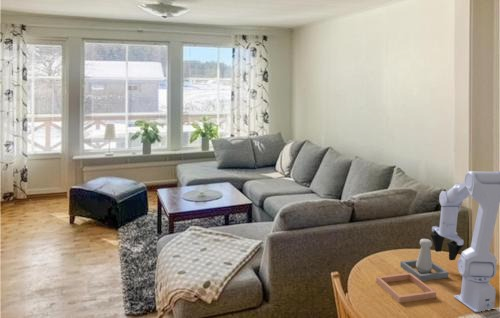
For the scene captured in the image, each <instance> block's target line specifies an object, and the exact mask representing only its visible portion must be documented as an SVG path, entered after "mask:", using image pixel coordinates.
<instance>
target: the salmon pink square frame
mask: <svg viewBox="0 0 500 318" xmlns="http://www.w3.org/2000/svg"><path fill="white" fill-rule="evenodd" d="M375 279H376V280H375V283H376V284H377V285H379V286H380V287H381V288H382V289H383V290H384V291H386V293H387V294H388V295H390V296H391V297H392V298H393V299H394V300H395V301H396V302H397V303H398V304H400V303H401V304H402V303H407V302H415V301H421V300H429V299H436V298H437V292H436V291H435V290H434V289H433V288H431V287H430V286H428V285H427V284H426V283H425V282H423V281H421V280H419V279H418V278H417V277H415V276H414V275H413V274H411V273H409V272H406V273H398V274H391V275H390V274H389V275H381V276H376V278H375ZM405 280H406V281H407V280H409V281H411V282H412V283H413V284H415V285H416V286H417V287H419V288H420V290H422V291H424V292H416V293H408V294H399V293H398V292H397V291H396V290H395V289H394V288H393V287H391V286H390V285H389V284H388V283H390V282H392V283H393V282H401V281H405Z"/></svg>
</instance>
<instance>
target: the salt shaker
mask: <svg viewBox="0 0 500 318" xmlns="http://www.w3.org/2000/svg"><path fill="white" fill-rule="evenodd" d="M419 245H420V249H419V253H418V256H417V259H416V260H417V262H416V266H415V267H416V271H417V272H418V273H420V274H428V273H431V271H432V270H433V269H432V262H433V261H432V251H431V248H432V246H433V240H430V239H429V238H421V239H420V240H419Z"/></svg>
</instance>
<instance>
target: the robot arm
mask: <svg viewBox="0 0 500 318" xmlns="http://www.w3.org/2000/svg"><path fill="white" fill-rule="evenodd" d="M438 197H439V200H438V201H439V204H440V206H441V207H440V216H439V217H440V218H439V226H437V225H434V226H431V232H430V237H431V239H432V243H433V246H434V250H435V252H437V253H438V252H442V249H443V243H444V240H445V239H447V240H449V241H451V242H447V243H446V245H447V247H448V259H449V261H456V258H457V256H458V253H459V252H460V251H461V250H462V248H463V247H464V246H465V244H464V239H462V238H461V237H460V236H459V235H458V232H457V225H458V215H459V212H460V211H461V208H462V205H463V201H465V200H466V199H467V198H469V197H471V199H472V200H473V201H475V202H478V209H477V214H476V218H475V223H474V227H473V233H472V238H471V243H470V247H468V248H466V249H464V250H463V251H461V252H460V253H461V254H460V256H459V258H458V260H457V270H458V272H459V274H460V275H461V276H462V278H461V279H462V280H461V288H460V294H455V295H453V296H454V297H453V298H455V299H456V300H458V301H459V302H460V303H461V304H463V305H464V306H466V307H467V308H469V309H470V310H471V311H473V312H474V313H482V312H486V311H485V310H488V309H492V308H496V309H497V307H495V303H496V296H497V291H496V288H495V287H494V286H493V285H492V284H491V283H490V281H492V278H493V279H494V278H495V276H496V275H497V273H498V272H497V271H498V270H497V268H498V267H497V262H498V259H497V258H496V256H495V255H494V254H493V253H492V252H490V248H491V244H492V239H493V237H494V236H493V235H494V231H495V225H496V222H497V218H498V212H499V207H500V170H496V171H479V170H478V171H475V170H474V171H473V170H469V171H467V172H466V173H465V175H464V181H463V182H461V183H459V182H457V183H455V184H454V186H452V187H451V188H450V189H448V190H446V191H445V190H441V192H439V196H438ZM481 311H482V312H481ZM488 311H489V310H488Z"/></svg>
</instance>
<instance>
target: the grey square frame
mask: <svg viewBox="0 0 500 318" xmlns="http://www.w3.org/2000/svg"><path fill="white" fill-rule="evenodd" d="M416 262H417V259H411V260H403V261H400V267H401V268H402V269H403V270H404V271H406V273H411V274H413V275H414V276H415V277H417V278H418V279H419V280H421V281H422V282H423V281H430V280H439V279H445V278H447V279H448V278H449V271H448V270H446V269H444V268H443V267H441V266H440V265H438V264H437V263H435V262H434V261H432V270H434V271H435V272H430V273H428V274H421V273H420V272H418V271H417V269H414V268H413V267H416Z"/></svg>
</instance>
